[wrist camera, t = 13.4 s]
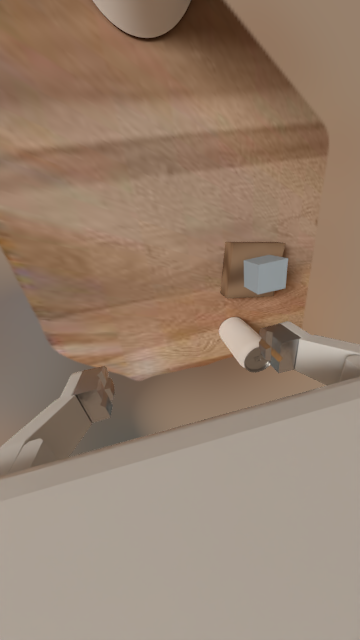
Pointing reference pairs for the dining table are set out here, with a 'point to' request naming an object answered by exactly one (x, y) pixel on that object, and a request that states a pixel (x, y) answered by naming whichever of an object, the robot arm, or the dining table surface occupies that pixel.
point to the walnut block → (235, 266)
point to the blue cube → (265, 273)
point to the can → (243, 344)
